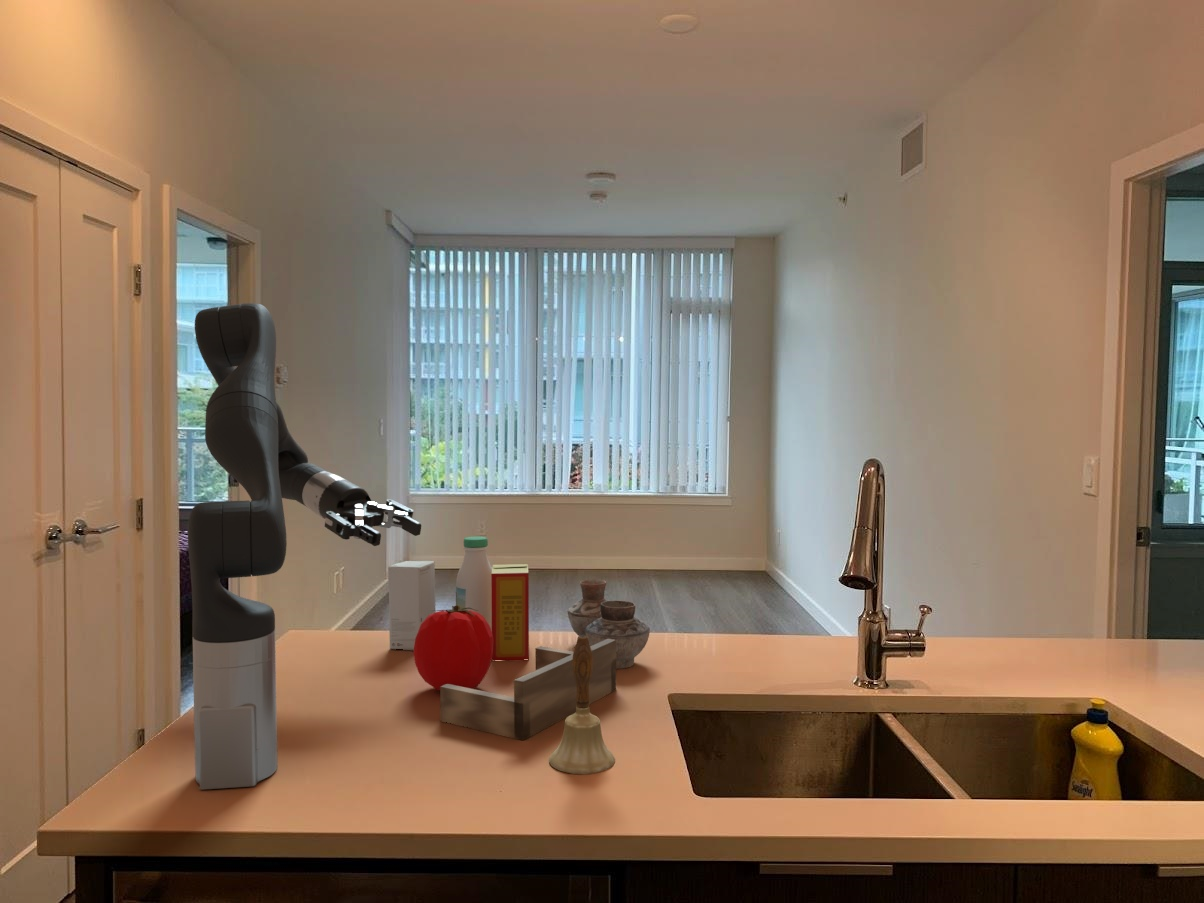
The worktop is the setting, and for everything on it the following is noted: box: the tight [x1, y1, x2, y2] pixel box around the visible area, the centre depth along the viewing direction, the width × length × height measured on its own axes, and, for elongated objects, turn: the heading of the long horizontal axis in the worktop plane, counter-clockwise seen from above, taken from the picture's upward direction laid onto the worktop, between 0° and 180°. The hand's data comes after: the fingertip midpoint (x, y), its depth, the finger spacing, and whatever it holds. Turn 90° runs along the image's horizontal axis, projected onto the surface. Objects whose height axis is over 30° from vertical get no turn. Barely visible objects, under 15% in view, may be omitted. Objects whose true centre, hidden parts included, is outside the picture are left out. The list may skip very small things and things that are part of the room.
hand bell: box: [548, 635, 616, 775], centre depth 110 cm, size 8×8×16 cm
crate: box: [439, 639, 617, 741], centre depth 131 cm, size 14×25×8 cm, turn 149°
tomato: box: [412, 605, 493, 691], centre depth 139 cm, size 13×13×13 cm
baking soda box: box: [491, 563, 530, 661], centre depth 159 cm, size 10×6×16 cm
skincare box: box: [387, 560, 437, 651], centre depth 165 cm, size 8×7×16 cm
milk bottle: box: [455, 536, 493, 631], centre depth 168 cm, size 8×8×20 cm
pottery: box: [567, 578, 651, 670], centre depth 159 cm, size 11×25×12 cm, turn 18°
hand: (399, 535), depth 141 cm, fingers open, 8 cm apart
